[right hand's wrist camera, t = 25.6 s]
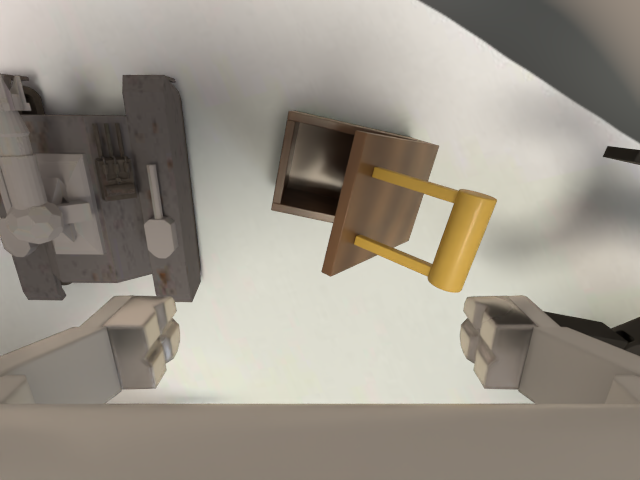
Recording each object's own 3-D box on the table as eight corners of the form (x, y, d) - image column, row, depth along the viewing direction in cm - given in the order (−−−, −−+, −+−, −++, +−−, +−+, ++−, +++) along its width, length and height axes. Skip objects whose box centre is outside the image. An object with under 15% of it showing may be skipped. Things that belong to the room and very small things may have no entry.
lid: (321, 272, 25) (439, 331, 20) (355, 130, 21) (503, 167, 17) (401, 238, 36) (486, 271, 32) (431, 143, 33) (529, 167, 29)
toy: (204, 283, 48) (157, 354, 34) (56, 282, 48) (-52, 353, 34) (182, 78, 40) (106, 61, 25) (1, 76, 39) (-176, 58, 25)
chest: (280, 191, 44) (270, 210, 36) (295, 110, 41) (288, 110, 32) (388, 214, 45) (404, 238, 37) (411, 137, 42) (433, 144, 33)
